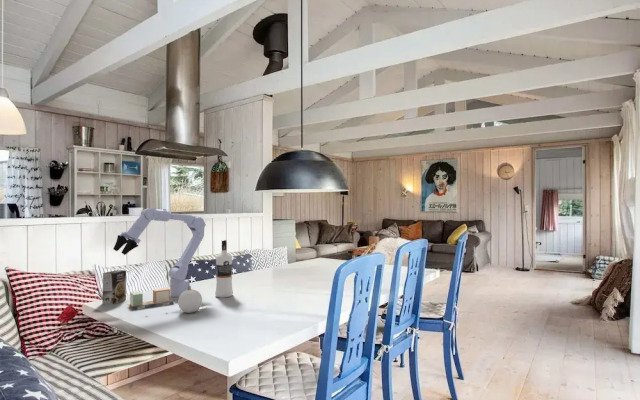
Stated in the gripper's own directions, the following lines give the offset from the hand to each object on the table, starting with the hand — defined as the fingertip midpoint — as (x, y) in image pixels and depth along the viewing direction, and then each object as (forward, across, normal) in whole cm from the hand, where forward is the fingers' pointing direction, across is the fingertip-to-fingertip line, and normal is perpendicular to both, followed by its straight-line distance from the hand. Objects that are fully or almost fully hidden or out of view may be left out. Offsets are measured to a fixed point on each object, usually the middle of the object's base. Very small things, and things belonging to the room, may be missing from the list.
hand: (119, 252), depth 184 cm
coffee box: (+21, -3, +18) cm, 28 cm away
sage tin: (+16, +13, +17) cm, 27 cm away
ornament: (+8, +40, +23) cm, 47 cm away
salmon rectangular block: (+10, +16, +26) cm, 32 cm away
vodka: (-8, +28, +48) cm, 57 cm away
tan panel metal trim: (+14, +16, +22) cm, 30 cm away
